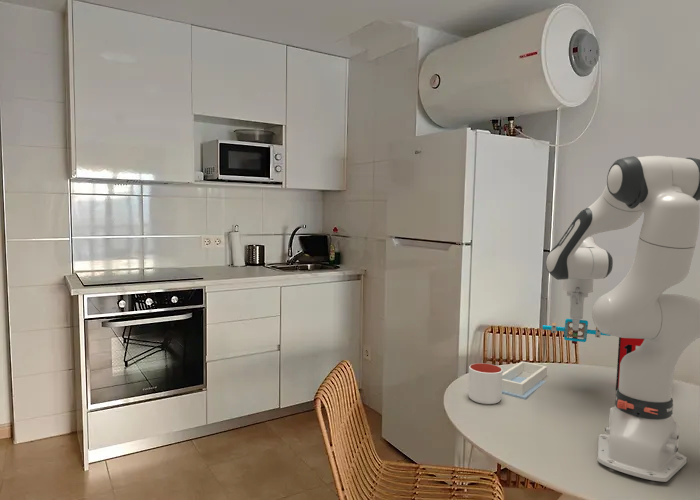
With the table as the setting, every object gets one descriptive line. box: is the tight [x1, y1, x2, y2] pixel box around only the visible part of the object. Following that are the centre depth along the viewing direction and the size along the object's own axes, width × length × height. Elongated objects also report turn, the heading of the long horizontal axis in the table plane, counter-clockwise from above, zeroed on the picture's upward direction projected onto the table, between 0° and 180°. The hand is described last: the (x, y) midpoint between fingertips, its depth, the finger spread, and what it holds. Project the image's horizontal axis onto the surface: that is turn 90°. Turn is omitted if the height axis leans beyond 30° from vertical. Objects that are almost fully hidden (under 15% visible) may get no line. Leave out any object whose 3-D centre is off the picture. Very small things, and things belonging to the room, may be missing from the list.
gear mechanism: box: [542, 318, 612, 345], centre depth 160 cm, size 20×5×9 cm, turn 68°
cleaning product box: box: [615, 337, 644, 392], centre depth 163 cm, size 16×9×20 cm, turn 139°
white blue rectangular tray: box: [502, 361, 548, 400], centre depth 166 cm, size 27×12×4 cm, turn 141°
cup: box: [467, 362, 504, 405], centre depth 152 cm, size 10×10×10 cm
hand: (575, 327), depth 160 cm, fingers closed on gear mechanism, 5 cm apart
